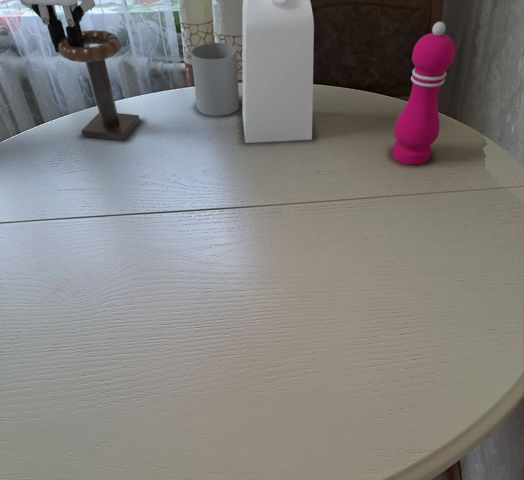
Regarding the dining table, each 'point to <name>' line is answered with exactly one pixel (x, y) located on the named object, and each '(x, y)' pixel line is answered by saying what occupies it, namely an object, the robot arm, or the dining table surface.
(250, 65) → the milk
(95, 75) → the brown post
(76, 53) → the ring
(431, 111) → the pepper mill
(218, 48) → the cup
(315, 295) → the dining table surface
